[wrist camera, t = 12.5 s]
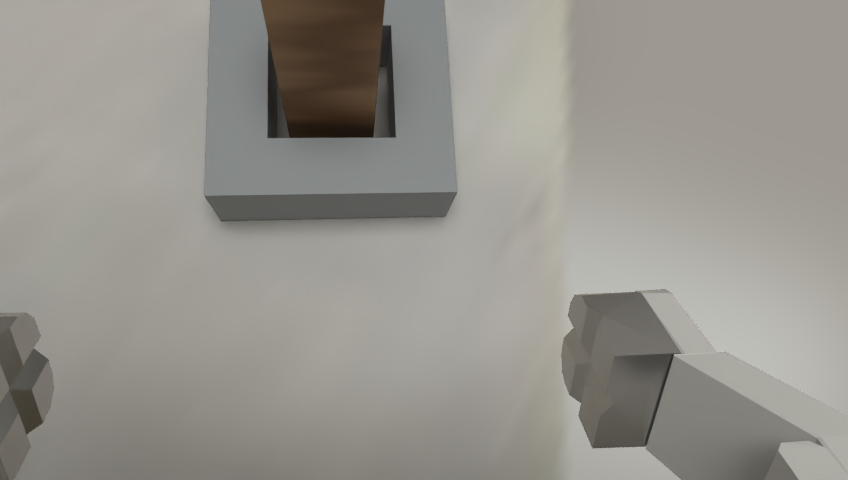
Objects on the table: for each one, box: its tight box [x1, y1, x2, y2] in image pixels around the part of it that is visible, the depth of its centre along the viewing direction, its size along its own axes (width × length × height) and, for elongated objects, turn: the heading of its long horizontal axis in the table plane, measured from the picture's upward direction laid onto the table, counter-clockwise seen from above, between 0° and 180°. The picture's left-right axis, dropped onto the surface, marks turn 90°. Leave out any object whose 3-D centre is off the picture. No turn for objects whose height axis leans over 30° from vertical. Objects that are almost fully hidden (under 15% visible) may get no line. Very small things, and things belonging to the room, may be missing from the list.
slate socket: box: [204, 0, 457, 221], centre depth 29 cm, size 10×10×4 cm
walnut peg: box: [260, 0, 385, 138], centre depth 25 cm, size 4×4×12 cm
